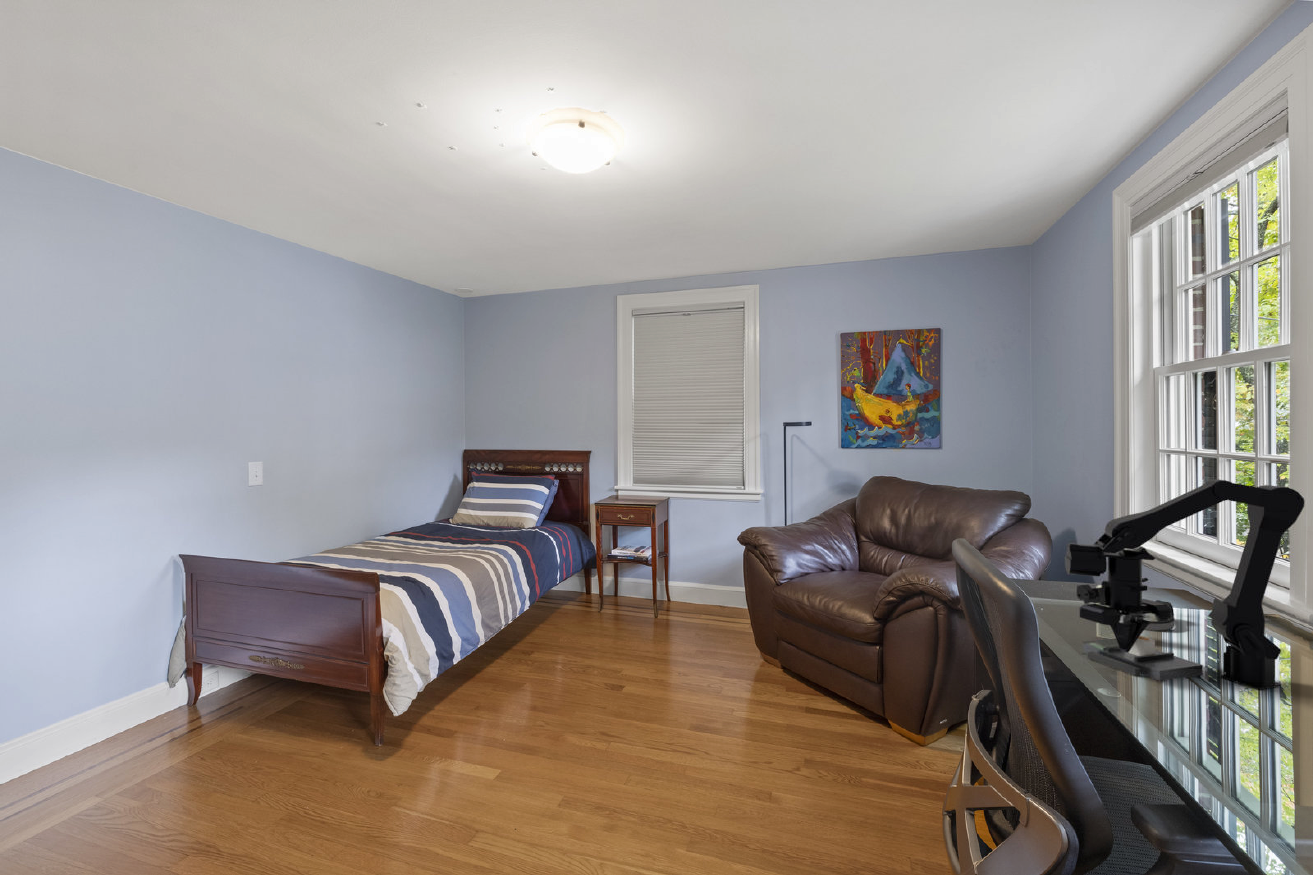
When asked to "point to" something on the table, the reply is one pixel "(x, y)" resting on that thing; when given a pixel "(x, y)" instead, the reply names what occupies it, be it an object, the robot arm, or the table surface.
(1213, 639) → the table surface
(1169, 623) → the headset
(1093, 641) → the dark grey bar far
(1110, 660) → the dark grey bar
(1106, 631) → the skincare box
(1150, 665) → the panel
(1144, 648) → the breaker lever
